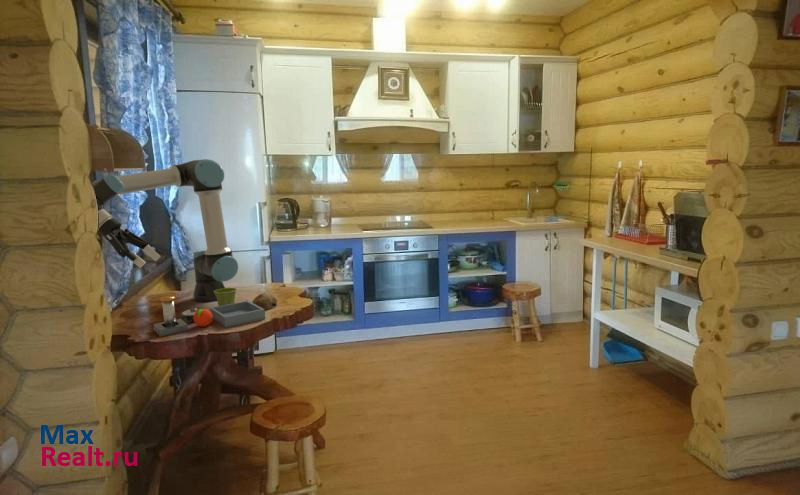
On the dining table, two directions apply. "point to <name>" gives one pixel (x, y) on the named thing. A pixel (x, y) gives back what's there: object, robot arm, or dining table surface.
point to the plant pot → (225, 296)
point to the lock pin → (168, 310)
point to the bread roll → (265, 301)
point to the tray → (237, 313)
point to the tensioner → (180, 324)
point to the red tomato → (203, 317)
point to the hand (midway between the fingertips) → (151, 262)
